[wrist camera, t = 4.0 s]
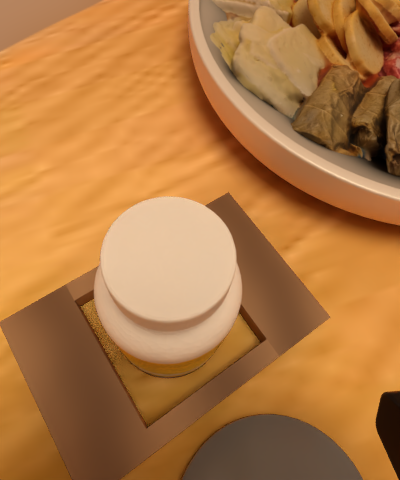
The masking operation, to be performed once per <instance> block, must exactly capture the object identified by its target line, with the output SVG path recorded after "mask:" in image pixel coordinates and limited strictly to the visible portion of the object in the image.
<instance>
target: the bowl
mask: <svg viewBox="0 0 400 480" xmlns="http://www.w3.org/2000/svg"><path fill="white" fill-rule="evenodd" d="M188 33H189V43H190V49H191V54H192V59H193V62H194V66H195V69H196V72H197V75H198V78H199V81H200V83H201V85H202V88H203V90H204V92H205V94H206V96H207V98H208V100H209V101H210V103H211V105H212V107H213V108H214V110H215V112H216V113H217V115H218V116H219V118H220V119H221V120H222V122H223V123H224V124H225V126H226V127H227V128H228V130H229V131H230V132H231V133H232V134H233V136H234V137H235V138H236V139H237V140H238V141H239V142H240V143H241V144H242V145H243V146H244V147H245V148H246V149H247V150H248V151H249V152H250V153H251V154H252V155H253V156H254V157H255V158H256V159H258V160H259V161H260V162H261V163H262V164H264V165H265V166H266V167H267V168H269V169H270V170H271V171H273V172H274V173H275V174H277V175H278V176H280V177H281V178H282V179H284V180H286V181H287V182H289V183H290V184H292V185H293V186H295V187H297V188H298V189H300V190H302V191H304V192H305V193H307V194H309V195H311V196H313V197H315V198H317V199H319V200H321V201H323V202H326V203H328V204H330V205H332V206H335V207H337V208H340V209H343V210H345V211H348V212H351V213H354V214H357V215H360V216H363V217H366V218H370V219H373V220H377V221H381V222H385V223H390V224H395V225H400V0H189V7H188Z"/></svg>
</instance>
